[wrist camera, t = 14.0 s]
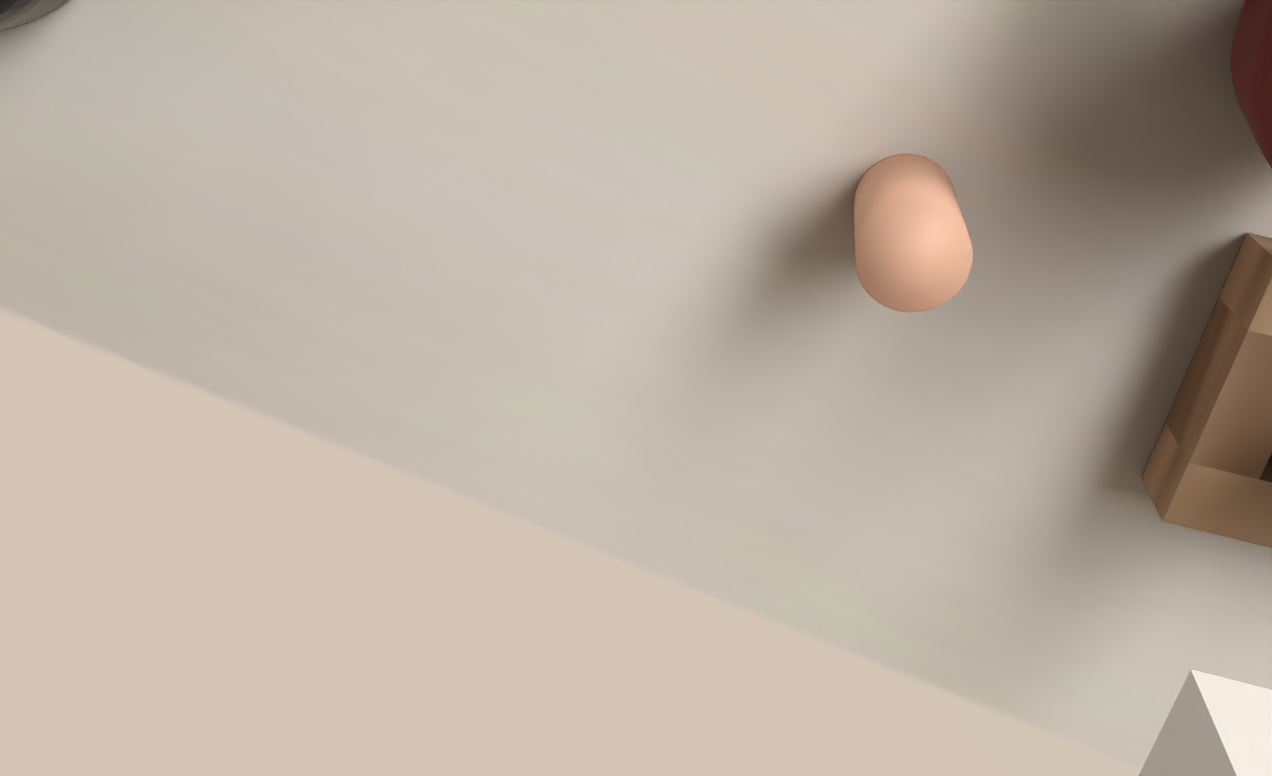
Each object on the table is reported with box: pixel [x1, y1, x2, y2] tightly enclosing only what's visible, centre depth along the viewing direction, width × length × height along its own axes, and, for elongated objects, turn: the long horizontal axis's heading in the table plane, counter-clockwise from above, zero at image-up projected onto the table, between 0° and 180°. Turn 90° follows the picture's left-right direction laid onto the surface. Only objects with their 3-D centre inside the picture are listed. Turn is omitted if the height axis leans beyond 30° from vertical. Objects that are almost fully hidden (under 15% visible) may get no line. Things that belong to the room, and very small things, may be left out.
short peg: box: [854, 154, 973, 312], centre depth 36 cm, size 3×3×6 cm
